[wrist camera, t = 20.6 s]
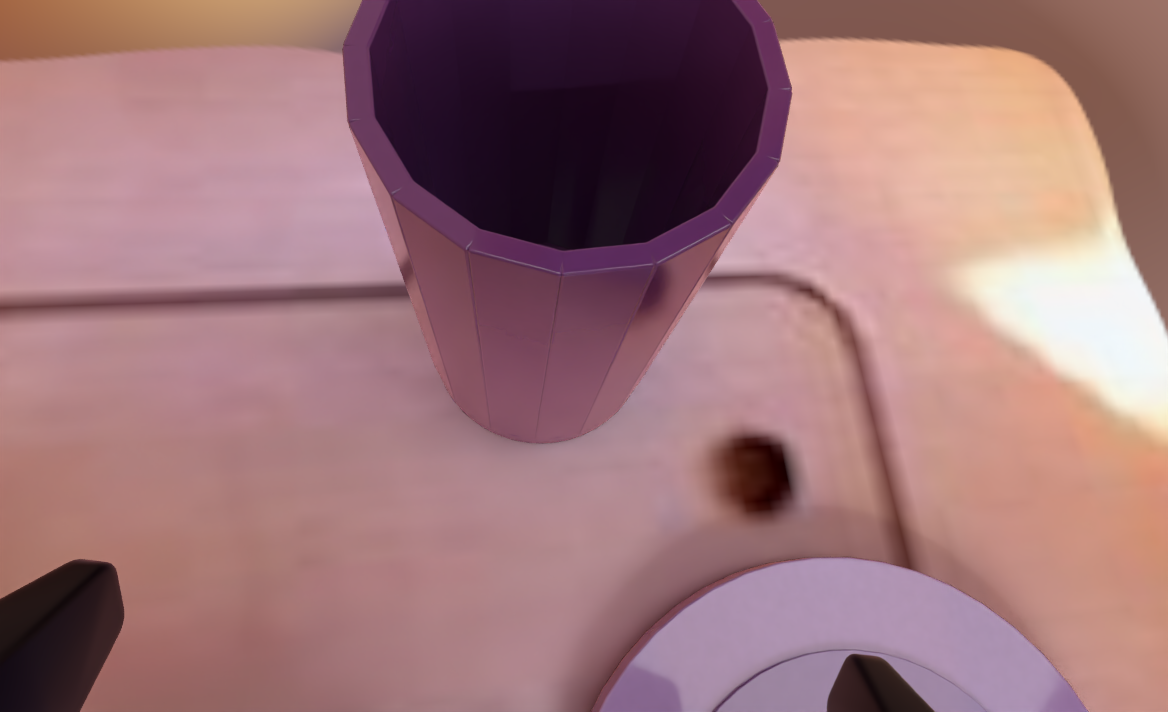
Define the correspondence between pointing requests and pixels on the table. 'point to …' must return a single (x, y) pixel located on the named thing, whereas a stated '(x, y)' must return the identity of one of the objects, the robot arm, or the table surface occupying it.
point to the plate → (831, 644)
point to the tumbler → (560, 182)
